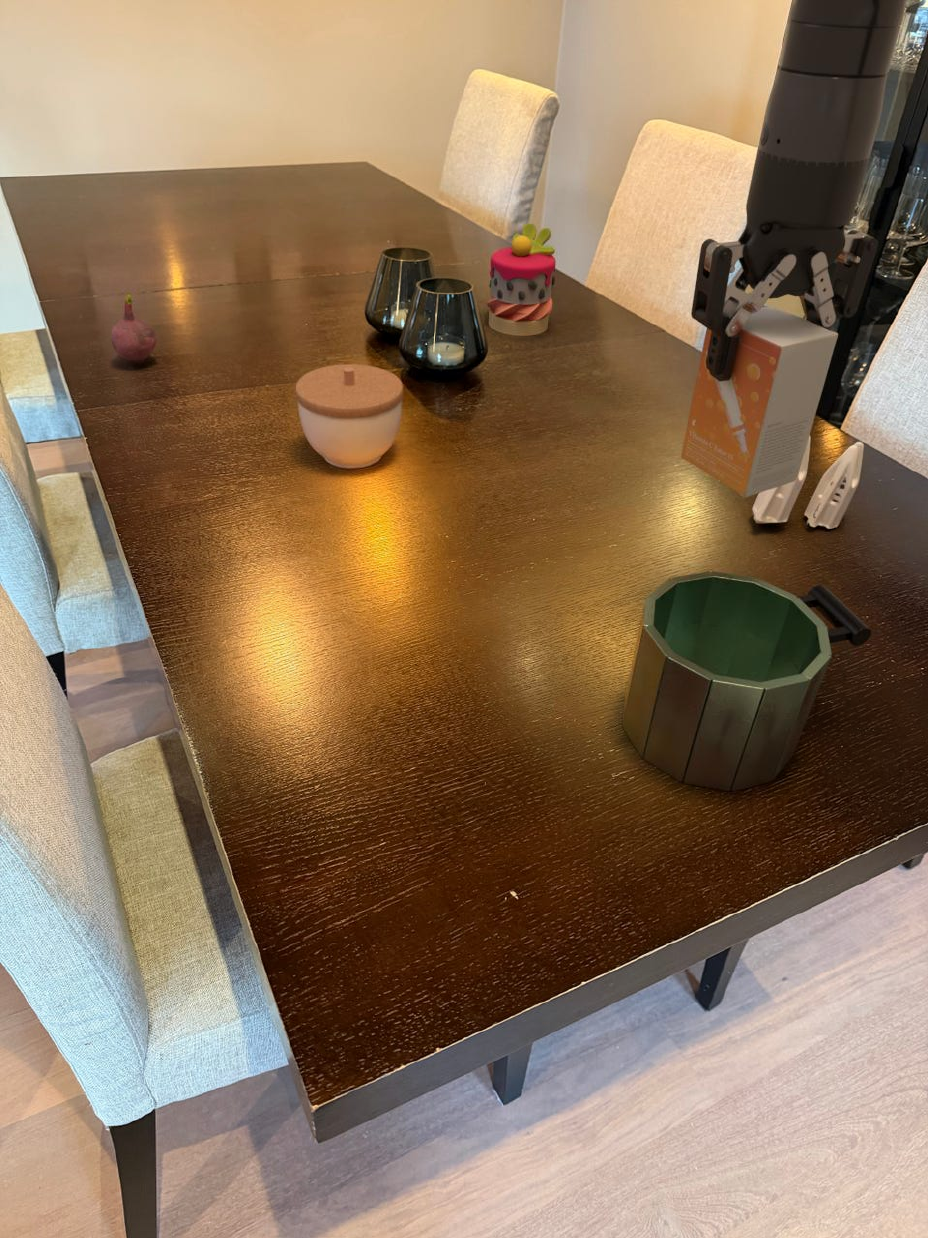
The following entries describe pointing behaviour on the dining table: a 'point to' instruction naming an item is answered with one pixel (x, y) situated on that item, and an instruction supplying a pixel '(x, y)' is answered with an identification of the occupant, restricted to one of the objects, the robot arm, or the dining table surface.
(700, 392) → the small box
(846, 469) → the shaker set
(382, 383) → the lidded bowl
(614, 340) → the dining table surface
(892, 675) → the dining table surface
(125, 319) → the vegetable
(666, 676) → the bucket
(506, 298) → the cake
